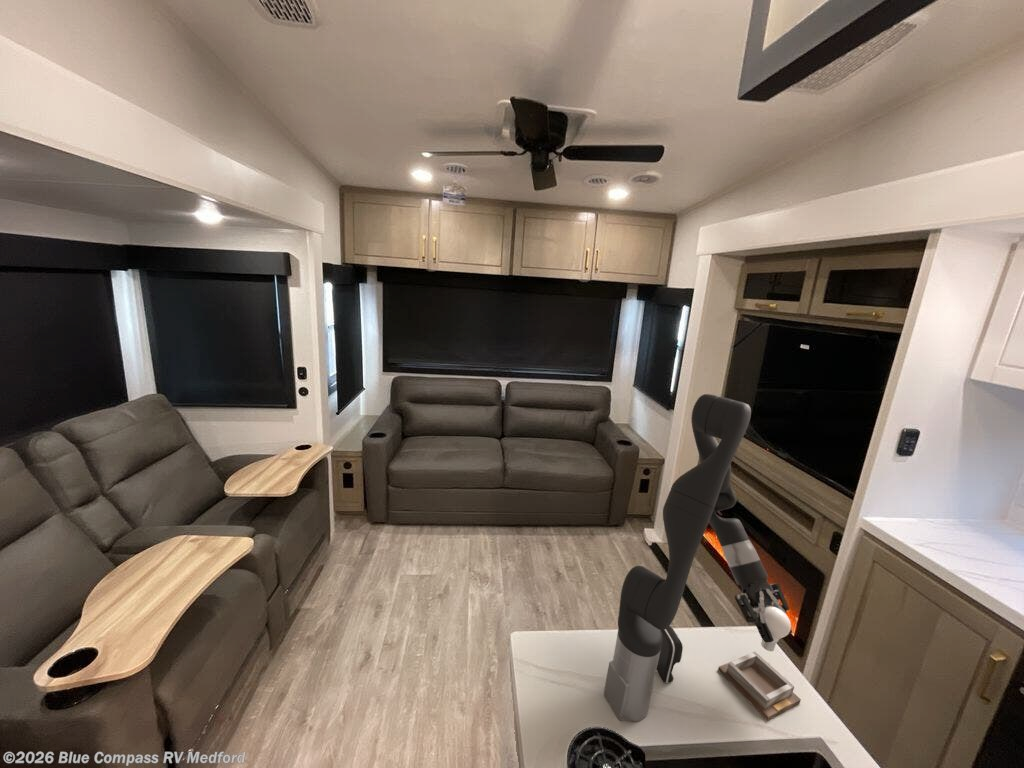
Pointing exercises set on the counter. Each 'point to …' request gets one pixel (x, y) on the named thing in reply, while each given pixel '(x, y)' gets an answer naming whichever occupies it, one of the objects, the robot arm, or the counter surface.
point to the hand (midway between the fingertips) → (778, 637)
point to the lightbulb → (775, 626)
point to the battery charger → (669, 654)
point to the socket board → (760, 684)
